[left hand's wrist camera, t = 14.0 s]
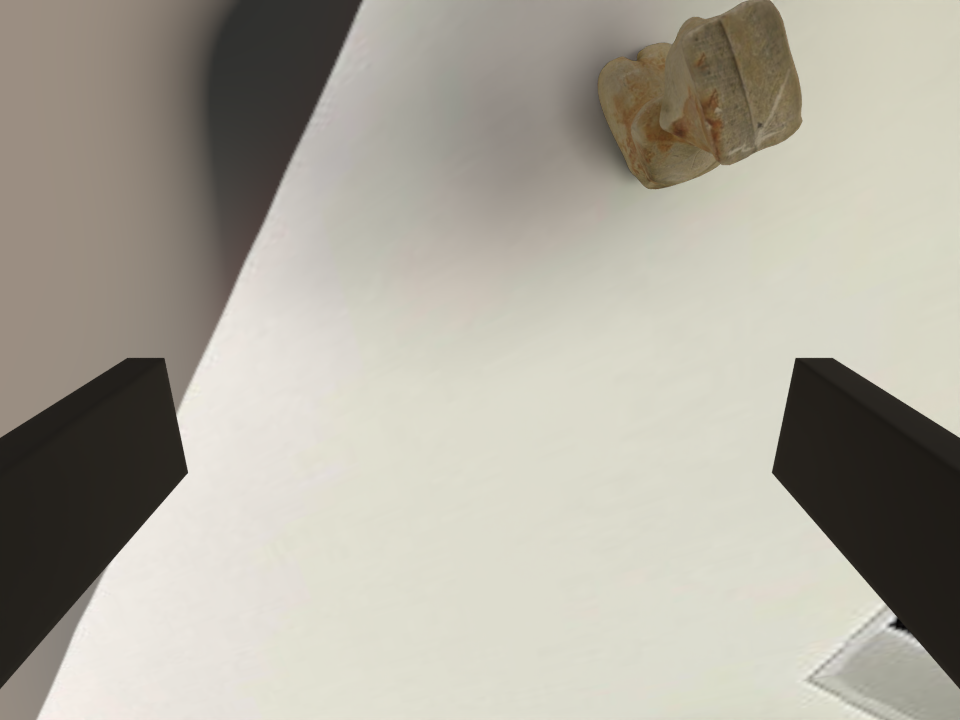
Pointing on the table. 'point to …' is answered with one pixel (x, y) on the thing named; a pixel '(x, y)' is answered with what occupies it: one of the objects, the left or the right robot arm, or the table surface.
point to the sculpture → (704, 96)
